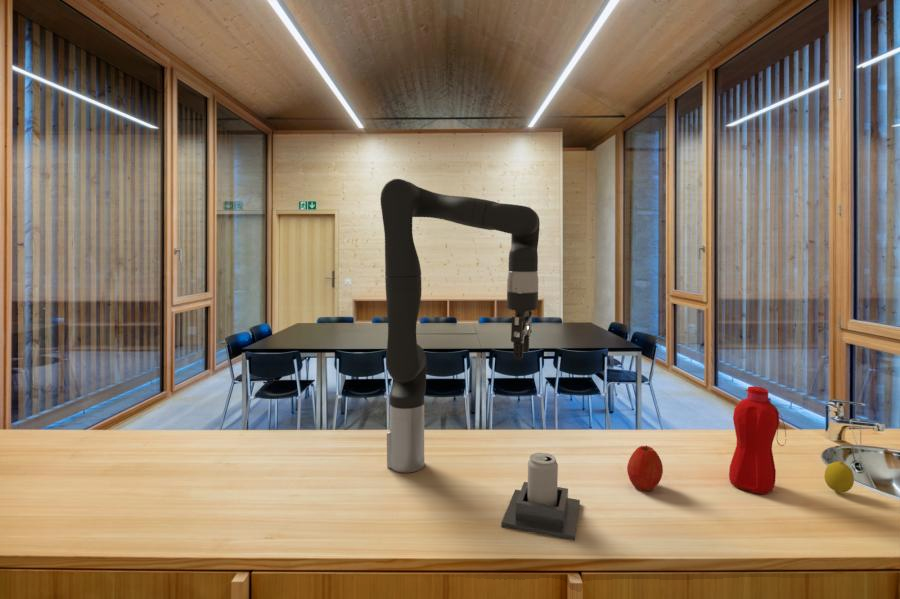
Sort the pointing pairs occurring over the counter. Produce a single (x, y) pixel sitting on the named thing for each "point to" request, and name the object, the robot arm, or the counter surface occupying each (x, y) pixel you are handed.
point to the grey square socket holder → (543, 515)
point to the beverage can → (542, 479)
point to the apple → (645, 468)
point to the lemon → (839, 477)
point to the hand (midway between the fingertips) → (521, 355)
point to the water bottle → (754, 442)
